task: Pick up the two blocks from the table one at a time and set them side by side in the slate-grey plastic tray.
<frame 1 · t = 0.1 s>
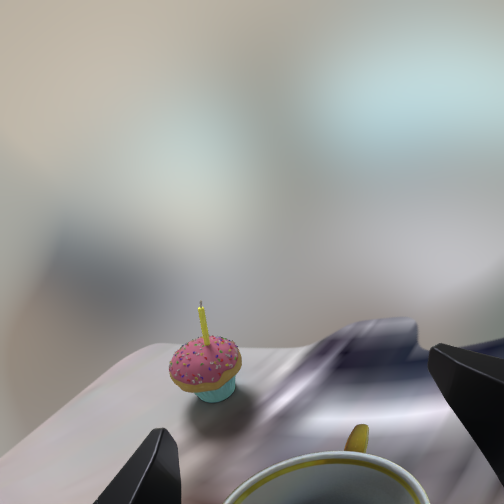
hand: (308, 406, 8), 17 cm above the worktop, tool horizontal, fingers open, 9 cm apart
cupcake: (217, 391, 32), on the worktop
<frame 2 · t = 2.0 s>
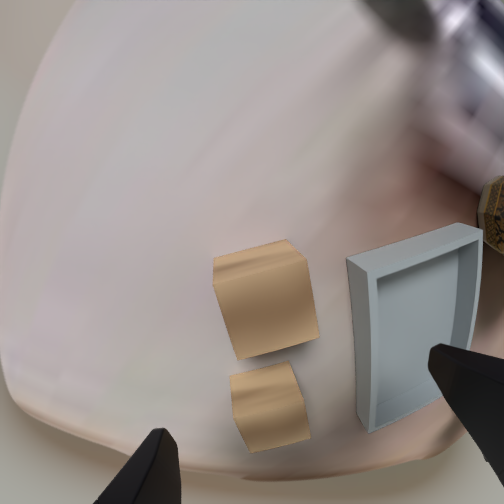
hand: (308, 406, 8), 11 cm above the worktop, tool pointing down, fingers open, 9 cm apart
block a: (258, 281, 18), on the worktop
block b: (265, 388, 21), on the worktop
tray: (411, 328, 21), on the worktop
ceramic cup: (496, 197, 19), on the worktop
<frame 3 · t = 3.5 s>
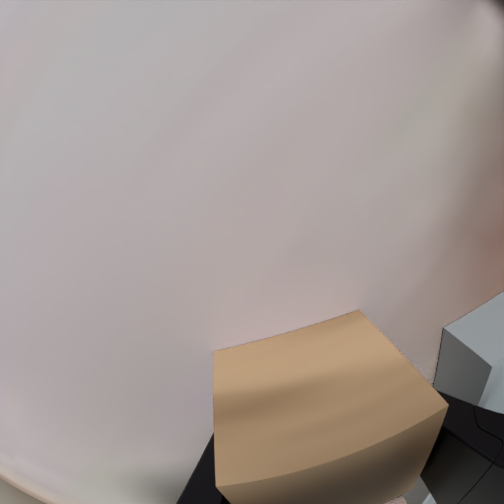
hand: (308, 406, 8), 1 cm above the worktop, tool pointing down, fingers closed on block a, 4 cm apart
block a: (299, 385, 9), on the worktop, touching gripper
tray: (484, 395, 11), on the worktop
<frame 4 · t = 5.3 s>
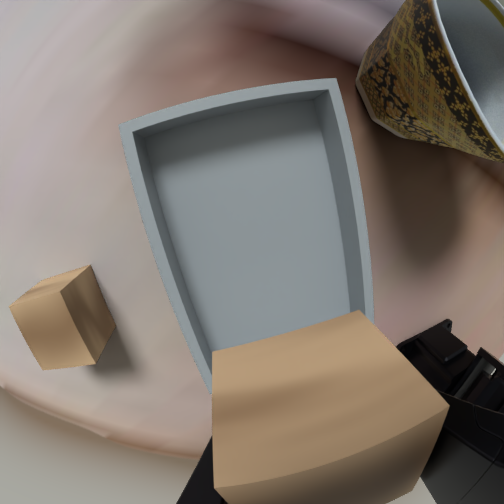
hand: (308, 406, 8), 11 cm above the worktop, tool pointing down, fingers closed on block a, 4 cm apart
block a: (299, 386, 9), point 10 cm above the worktop, touching gripper
block b: (77, 302, 17), on the worktop
tray: (259, 238, 17), on the worktop
ceramic cup: (397, 76, 15), on the worktop
when the fingers open (4 cm above the worktop, at t = 7.1 s): block a drops 2 cm, resting on tray.
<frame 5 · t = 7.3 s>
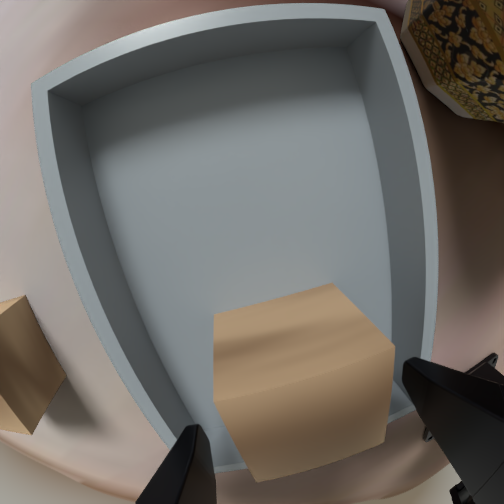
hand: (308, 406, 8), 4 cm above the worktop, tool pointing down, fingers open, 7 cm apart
block a: (285, 347, 11), point 1 cm above the worktop, touching tray
block b: (19, 341, 10), on the worktop
tray: (263, 262, 10), on the worktop
ceramic cup: (448, 39, 9), on the worktop
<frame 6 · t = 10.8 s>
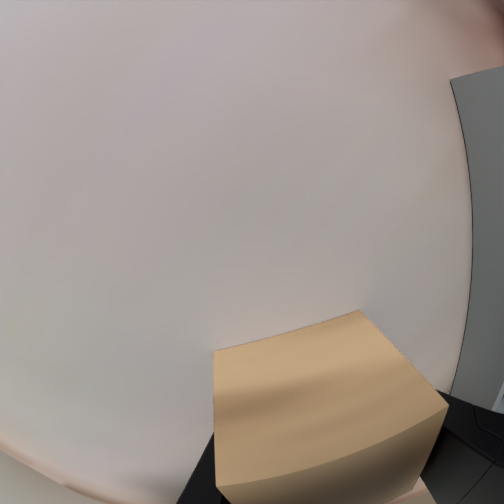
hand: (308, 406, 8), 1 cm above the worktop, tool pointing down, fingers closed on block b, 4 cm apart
block b: (299, 385, 9), on the worktop, touching gripper
when the fingers open (4 cm above the worktop, at t = 14.2 s): block b drops 2 cm, resting on tray.
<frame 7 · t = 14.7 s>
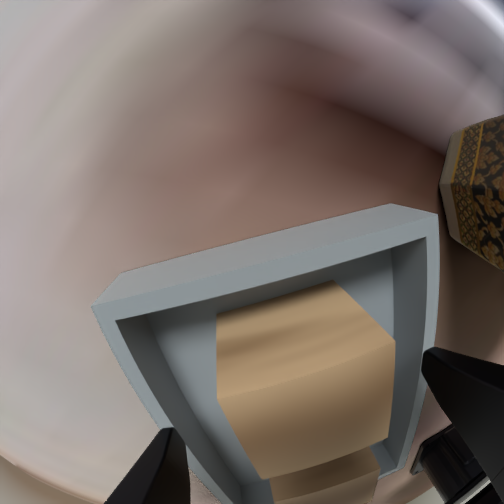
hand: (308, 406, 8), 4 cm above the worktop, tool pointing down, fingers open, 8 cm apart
block a: (308, 440, 13), point 1 cm above the worktop, touching tray
block b: (288, 345, 11), point 1 cm above the worktop, touching tray
tray: (296, 394, 13), on the worktop
ceramic cup: (481, 162, 11), on the worktop, touching gripper
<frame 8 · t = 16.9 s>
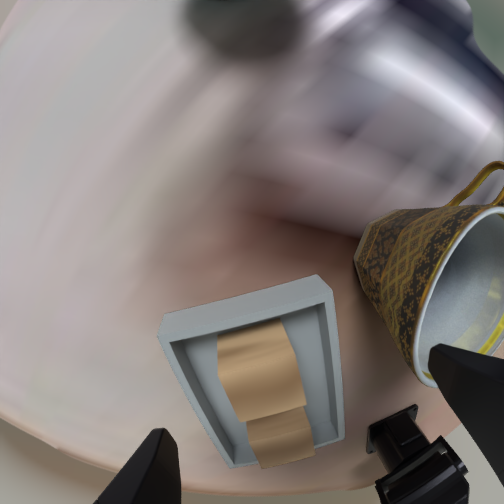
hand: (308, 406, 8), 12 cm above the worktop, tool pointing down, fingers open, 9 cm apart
block a: (274, 411, 22), point 1 cm above the worktop, touching tray
block b: (256, 351, 20), point 1 cm above the worktop, touching tray
tray: (265, 380, 22), on the worktop
ceramic cup: (396, 235, 20), on the worktop
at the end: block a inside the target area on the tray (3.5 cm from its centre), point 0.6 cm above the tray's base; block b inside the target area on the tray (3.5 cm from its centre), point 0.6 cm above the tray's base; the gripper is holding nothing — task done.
